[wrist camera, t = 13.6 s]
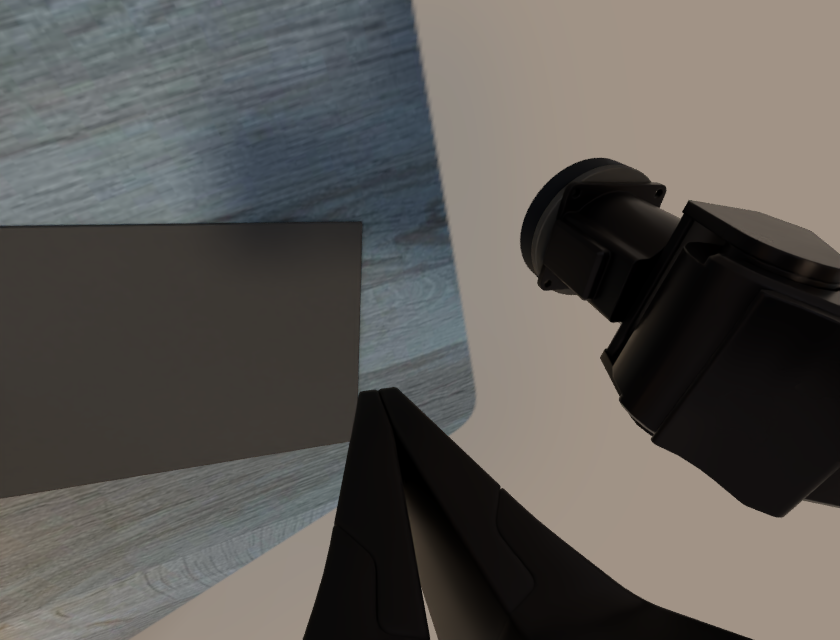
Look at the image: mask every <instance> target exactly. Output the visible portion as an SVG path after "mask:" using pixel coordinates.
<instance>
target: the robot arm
mask: <svg viewBox="0 0 840 640" xmlns="http://www.w3.org/2000/svg"><path fill="white" fill-rule="evenodd" d="M575 189H576V192H575V193H574V194H573V195H572V193H573V191H574V190H575ZM656 191H657V192H656ZM655 193H656V194H655ZM665 193H666V187H665V186H664V185H662V184H660V183H652V182H592V181H574V182H571V183H569V184H568V185H567V186H566V188H565V190H564V193H563V196H562V200H561V203H560V207H559V210H558V213H557V217H556V220H555V223H554V226H553V229H552V233H551V236H550V239H549V243H548V246H547V250H546V253H545V256H544V260H543V264H542V268H541V271H540V274H539V278H538V282H537V283H538V286H539V287H540V288H541V289H542V290H546V291H547V290H562V289H571V290H572V291H573V292H574V293H576V294H577V295H578V296H579V297H580V298H581V299H582V300H587V301H588V302H589V303H590V304H591V305H592V306H593V307H594V308H596V309H597V310H598V311H599V312H600V313H601V314H602V315H603V316H605V317H606V318H607V319H608V320H609V321H610V322H613V323H614V322H619V323H620V324H621V325H620V327H619V329H618V331H617V332H616V334H615V336H614V338H613V340H612V341H611V343H610V345H609V346H608V348H607V349H605V350H604V352H603V353H602V355H601V357H600V359H601V361H602V363H603V365H604V366H605V369H606V371H607V372H608V374H609V376H610V378H611V380H612V382H613V384H614V386H615V388H616V390H617V392H618V394H619V396H620V397H619V401H620V403H621V405H622V406H623V408H624V409H625V410H626V411H627V412H628V413H629V415H630V416H631V418H632V419H633V420H634V421H635V423H636V424H637V425H638V426H639V427H641V428H642V429H643V430H644V431H645V432H647V433H649V434H650V435H651V436H652V438H651V441H652V442H653V443H654V444H656V445H657V446H659V447H661V448H664V449H666V450H668V451H670V452H672V453H674V454H676V455H678V456H680V457H682V458H683V459H685V460H687V461H688V462H690V463H691V464H693V465H694V466H696V467H697V468H699V469H700V470H701V471H703V472H704V473H705V474H707V475H708V476H709V477H711V478H712V479H713V480H714V481H716V482H717V483H718V484H719V485H720V486H722V487H723V488H724V489H725V490H726V491H728V492H729V493H730V494H731V495H732V496H734V497H735V498H736V499H737V500H738V501H740V502H741V503H742V504H744V505H746V506H748V507H751V508H753V509H755V510H758V511H761V512H763V513H766V514H768V515H771V516H774V517H784V516H785V515H786V514H788V512H790V511H791V510H792V509H793V508H794V507H796V506H797V505H798V504H799V503H800V502H801V501H802V500H803V501H808V502H813V503H818V504H823V505H828V506H832V507H837V508H840V254H839V253H838V252H836V251H835V250H834V249H833V248H832V247H830V246H829V245H828V244H827V243H825V242H824V241H823V240H822V239H821V238H819V237H818V236H817V235H816V234H814V233H813V232H812V231H810V230H807V229H805V228H802V227H799V226H797V225H794V224H791V223H788V222H785V221H783V220H780V219H777V218H774V217H771V216H768V215H766V214H763V213H760V212H756V211H751V210H745V209H739V208H733V207H727V206H721V205H715V204H709V203H704V202H698V201H692V200H689V201H688V203H687V204H686V206H685V208H684V210H683V211H682V212H683V213H684V214H683V216H682V218H681V219H680V218H678V217H676V216H674V215H672V214H670V213H668V212H666V211H664V210H662V209H660V205H661V203H662V200H663V198H664V196H665ZM547 280H548V282H547V283H545V282H546V281H547ZM421 587H422V589H421ZM422 590H423V593H424V597H425V600H426V603H427V606H428V609H429V612H430V615H431V618H432V621H433V624H434V627H435V631H436V634H437V637H438V640H753V639H750V638H747V637H744V636H742V635H738V634H736V633H733V632H730V631H727V630H724V629H722V628H719V627H716V626H713V625H710V624H707V623H704V622H701V621H699V620H696V619H693V618H690V617H687V616H685V615H682V614H679V613H676V612H673V611H671V610H668V609H665V608H662V607H660V606H657V605H655V604H652V603H650V602H648V601H646V600H644V599H642V598H640V597H639V596H637V595H635V594H633V593H632V592H630V591H629V590H627V589H625V588H624V587H623V586H621V585H620V584H618V583H617V582H616V581H615V580H613V579H612V578H611V577H609V576H608V575H607V574H605V573H604V572H603V571H602V570H600V569H599V568H598V567H597V566H595V565H594V564H593V563H591V562H590V561H589V560H587V559H586V558H585V557H584V556H583V555H581V554H580V553H579V552H577V551H576V550H575V549H573V548H572V547H571V546H570V545H568V544H567V543H566V542H564V541H563V540H562V539H561V538H559V537H558V536H557V535H556V534H555V533H553V532H552V531H551V530H550V529H548V528H547V527H546V526H545V525H543V524H542V523H541V522H540V521H539V520H537V519H536V518H535V517H534V516H533V515H532V514H531V513H529V512H528V511H527V510H526V509H525V508H524V507H523V506H522V505H521V504H519V503H518V502H517V501H516V500H515V499H514V498H513V497H512V496H511V495H510V494H509V493H508V492H507V491H506V490H505V489H503V488H502V489H500V485H499V484H498V483H497V482H496V481H495V480H494V479H493V478H492V477H491V476H490V475H489V474H487V473H486V472H485V471H484V470H483V469H482V468H481V467H480V466H479V465H478V464H477V463H476V462H475V461H474V460H473V459H472V458H471V457H470V456H469V455H467V454H466V453H465V452H464V451H463V450H462V449H461V448H460V447H459V446H458V445H457V444H456V443H455V442H454V441H453V440H452V439H451V438H450V437H448V436H447V435H446V434H445V433H444V432H443V431H442V430H441V429H440V428H439V427H438V426H437V425H436V424H435V423H434V422H433V421H432V420H431V419H429V418H428V417H427V416H426V415H425V414H424V413H423V412H422V411H421V410H420V409H419V408H418V407H417V406H416V405H415V404H414V403H413V402H412V401H410V400H409V399H408V398H407V397H406V396H405V395H404V394H403V393H402V392H401V391H400V390H399V389H398V388H396V387H390V388H383V389H380V390H378V391H377V390H368V391H361V392H360V393H359V397H358V402H357V407H356V412H355V418H354V423H353V428H352V433H351V438H350V444H349V449H348V454H347V459H346V464H345V470H344V475H343V480H342V485H341V490H340V496H339V501H338V506H337V512H336V517H335V522H334V527H333V531H332V536H331V541H330V547H329V551H328V555H327V560H326V564H325V569H324V573H323V576H322V580H321V583H320V586H319V590H318V593H317V597H316V600H315V603H314V607H313V610H312V613H311V616H310V619H309V622H308V625H307V628H306V631H305V634H304V637H303V640H430V635H429V629H428V623H427V618H426V612H425V606H424V601H423V595H422Z"/></svg>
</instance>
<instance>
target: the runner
mask: <svg viewBox="0 0 840 640" xmlns="http://www.w3.org/2000/svg"><path fill="white" fill-rule="evenodd" d="M361 249H362V222H292V223H219V224H146V225H73V226H1V227H0V499H1V498H7V497H14V496H20V495H26V494H32V493H38V492H44V491H50V490H56V489H62V488H68V487H75V486H81V485H87V484H93V483H99V482H105V481H111V480H117V479H123V478H129V477H135V476H142V475H148V474H154V473H160V472H166V471H172V470H178V469H184V468H190V467H196V466H203V465H209V464H215V463H221V462H227V461H233V460H239V459H245V458H251V457H257V456H264V455H270V454H276V453H282V452H288V451H294V450H300V449H306V448H312V447H318V446H325V445H331V444H337V443H343V442H349V441H350V438H351V433H352V428H353V423H354V418H355V412H356V407H357V402H358V364H359V326H360V288H361Z"/></svg>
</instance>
